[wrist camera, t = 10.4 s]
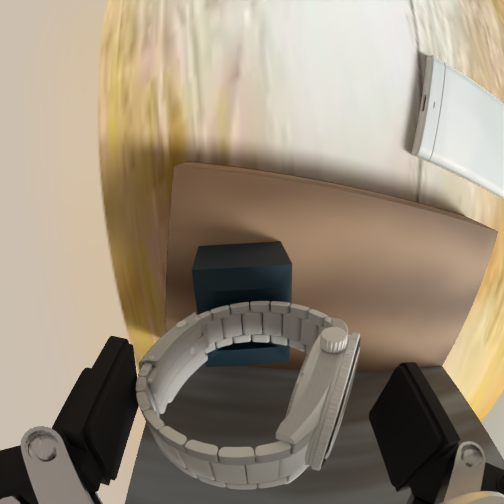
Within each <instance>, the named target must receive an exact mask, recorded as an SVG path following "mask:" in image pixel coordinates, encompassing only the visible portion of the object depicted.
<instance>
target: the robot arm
mask: <svg viewBox="0 0 504 504" xmlns="http://www.w3.org/2000/svg"><path fill="white" fill-rule="evenodd" d="M136 382H137V374H136V366H135V358H134V349H133V345H132V344H129V343H128V340H127V339H124V338H119V337H115V336H111V337H110V338H109V339H108V341H107V343H106V344H105V346H104V348H103V349H102V351H101V353H100V355H99V356H98V358H97V360H96V362H95V363H94V365H93V367H92V369H91V368H85V369H84V370H83V371H82V373H81V375H80V376H79V378H78V380H77V382H76V384H75V386H74V387H73V389H72V391H71V393H70V394H69V396H68V398H67V400H66V402H65V404H64V406H63V407H62V410H61V411H60V413H59V415H58V417H57V419H56V421H55V423H54V425H53V427H52V429H51V428H48V427H43V426H40V427H34V428H32V429H30V430H28V431H27V432H26V433H25V434H24V436H23V438H22V440H21V445H20V446H16V447H12V448H9V449H5V450H1V451H0V504H103V503H102V501H101V500H100V498H99V496H98V494H97V492H96V491H98V490H99V487H100V483H102V484H106V485H109V483H110V480H111V479H112V480H115V479H116V477H117V473H118V470H119V467H120V464H121V460H122V457H123V453H124V450H125V447H126V443H127V440H128V437H129V434H130V430H131V427H132V424H133V421H134V418H135V415H136V412H137V409H138V406H139V404H138V401H137V396H136V394H137V392H136ZM369 420H370V423H371V426H372V429H373V432H374V434H375V437H376V440H377V443H378V446H379V449H380V452H381V455H382V457H383V460H384V463H385V466H386V469H387V472H388V475H389V479H390V482H391V484H392V486H394V487H395V488H396V491H397V492H400V491H403V490H407V489H409V488H410V489H411V494H410V497H409V499H408V501H407V503H406V504H504V470H503V469H501V468H498V467H496V466H494V465H491V464H489V463H487V462H485V453H484V451H483V449H482V448H481V447H480V446H479V445H478V444H477V443H475V442H471V441H466V442H464V443H462V444H461V445H460V446H459V445H458V442H459V441H460V440H461V439H460V437H459V435H458V433H457V432H456V430H455V428H454V426H453V424H452V422H451V421H450V419H449V417H448V415H447V413H446V412H445V410H444V408H443V406H442V405H441V403H440V401H439V399H438V398H437V396H436V394H435V393H434V391H433V389H432V388H431V386H430V384H429V383H428V381H427V379H426V378H425V376H424V374H423V373H422V371H421V369H420V368H419V366H418V365H417V364H416V363H415V362H405V363H401V364H399V366H398V367H396V368H395V370H394V371H393V373H392V375H391V377H390V379H389V380H388V382H387V384H386V386H385V387H384V389H383V391H382V392H381V394H380V396H379V397H378V399H377V401H376V402H375V404H374V405H373V407H372V409H371V410H370V412H369Z"/></svg>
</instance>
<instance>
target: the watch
mask: <svg viewBox="0 0 504 504" xmlns="http://www.w3.org/2000/svg"><path fill="white" fill-rule="evenodd" d="M192 277H193V285H194V292H195V299H196V306H197V313H198V315H196V313H195V312H194V313H193V314H191V315H189V316H188V317H186V318H185V319H183V320H182V321H180V322H178V323H177V324H176V325H175V326H174V327H173V328H171V329H170V330H169V331H168V332H167V333H165V334H164V335H163V336H162V337H161V338H160V339H159V340H158V341H157V342H156V343H155V344H154V345H153V346H152V348H151V349H150V350H149V351H148V352H147V353H146V355H145V356H144V357H143V358H142V360H141V361H140V362H139V366H140V372H139V374H138V376H139V377H138V378H137V382H136V392H137V394H136V396H137V401H138V404H139V407H140V409H141V411H142V413H143V415H144V418H145V420H146V422H147V424H148V426H149V428H150V430H151V433H152V435H153V437H154V439H155V441H156V443H157V444H158V446H159V448H160V449H161V451H162V452H163V454H164V455H165V456H166V457H167V458H168V459H169V460H170V461H171V462H172V463H174V464H175V465H176V466H177V467H178V468H179V469H180V470H182V471H183V472H185V473H186V474H188V475H190V476H192V477H194V478H199V480H200V481H203V482H205V483H208V484H211V485H214V486H218V487H226V485H227V487H228V488H230V489H244V490H246V489H256V488H257V484H258V488H268V487H274V486H278V485H282V484H289V483H290V482H292V481H293V480H294V479H296V478H297V477H298V476H299V475H300V474H301V473H302V472H303V471H304V470H305V469H306V468H307V467H308V466H309V465H310V466H312V469H314V470H318V471H319V470H320V469H321V468H322V466H323V465H324V463H325V461H326V460H327V458H328V456H329V454H330V452H331V449H332V447H333V444H334V442H335V439H336V436H337V433H338V430H339V427H340V424H341V421H342V418H343V415H344V412H345V409H346V405H347V402H348V398H349V395H350V391H351V388H352V384H353V380H354V376H355V372H356V367H357V363H358V358H359V353H360V338H361V337H360V333H354V332H353V333H352V335H349V334H348V327H347V325H346V324H345V322H344V321H343V320H342V319H337V318H331V317H328V316H327V315H326V314H324V313H322V312H320V311H317V310H314V309H310V308H309V307H306V306H302V305H298V304H292V262H291V260H290V258H289V256H288V254H287V252H286V250H285V249H284V247H283V245H282V243H281V241H277V242H260V243H242V244H226V245H209V246H198V250H197V253H196V257H195V260H194V264H193V267H192ZM290 347H292V348H295V349H298V350H300V351H305V350H306V353H307V356H306V358H305V360H304V363H303V365H302V367H301V370H300V373H299V375H298V378H297V381H296V384H295V387H294V390H293V393H292V396H291V400H290V403H289V406H288V410H287V414H286V418H285V419H284V421H283V422H282V423H281V424H280V425H279V428H278V430H277V432H276V439H278V440H281V441H278V442H275V443H270V444H265V445H260V446H258V447H256V450H255V454H256V455H254V450H253V448H251V447H222V448H221V449H220V450H219V451H218V447H217V446H215V445H211V444H206V443H202V442H199V441H196V440H189V441H188V440H187V437H186V436H184V435H183V434H181V433H179V432H177V431H175V430H174V429H172V428H171V427H169V426H165V424H164V422H163V421H162V420H161V419H160V418H159V416H160V415H159V413H160V414H163V413H164V412H165V409H166V406H167V403H170V402H172V401H173V399H174V397H175V396H176V394H177V393H178V391H179V390H180V388H181V387H182V385H183V384H184V383H185V382H186V380H187V379H188V378H189V377H190V376H191V375H192V374H193V373H194V372H195V371H196V370H197V369H198V368H199V367H200V366H201V365H202V364H204V363H206V367H221V366H240V365H254V364H267V363H278V362H288V361H289V357H290ZM245 465H246V469H245ZM246 472H247V476H246Z"/></svg>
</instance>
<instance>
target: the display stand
mask: <svg viewBox="0 0 504 504" xmlns="http://www.w3.org/2000/svg"><path fill="white" fill-rule="evenodd" d="M497 234H498V231H496V230H494V229H491V228H489V227H487V226H485V225H483V224H481V223H479V222H477V221H474V220H472V219H470V218H468V217H465V216H462V215H459V214H455V213H452V212H449V211H445V210H442V209H438V208H435V207H431V206H428V205H424V204H420V203H417V202H413V201H409V200H405V199H401V198H397V197H393V196H389V195H385V194H381V193H377V192H372V191H368V190H364V189H359V188H354V187H350V186H345V185H340V184H335V183H330V182H325V181H320V180H315V179H309V178H304V177H298V176H293V175H287V174H281V173H274V172H268V171H261V170H255V169H248V168H240V167H233V166H225V165H217V164H208V163H199V162H189V161H188V162H185V163H182V164H179V165H176V166H174V172H173V182H172V193H171V204H170V217H169V232H168V250H167V275H166V333H167V332H168V331H169V330H170V329H171V328H173V327H174V326H175V325H176V324H177V323H178V322H180V321H182V320H183V319H185V318H186V317H188V316H189V315H191V314H193V313H194V312H195V313H196V315H198V313H197V306H196V299H195V292H194V285H193V277H192V267H193V264H194V260H195V257H196V253H197V250H198V246H209V245H226V244H242V243H260V242H277V241H281V243H282V245H283V247H284V249H285V250H286V252H287V254H288V256H289V258H290V260H291V262H292V304H298V305H302V306H306V307H309V308H310V309H314V310H317V311H320V312H322V313H324V314H326V315H327V316H328V317H331V318H337V319H342V320H343V321H344V322H345V324H346V325H347V327H348V334H349V335H352V333H353V332H354V333H360V337H361V338H360V353H359V358H358V363H357V367H356V372H355V376H354V380H353V384H352V388H351V391H350V395H349V398H348V402H347V405H346V409H345V412H344V415H343V418H342V421H341V424H340V427H339V430H338V433H337V436H336V439H335V442H334V444H333V447H332V449H331V452H330V454H329V456H328V458H327V460H326V461H325V463H324V465H323V466H322V468H321V469H320V470H319V471H318V470H314V469H312V466H310V465H309V466H308V467H307V468H306V469H305V470H304V471H303V472H302V473H301V474H300V475H299V476H298V477H297V478H296V479H294V480H293V481H292V482H290V483H289V484H282V485H278V486H274V487H268V488H258V484H257V488H256V489H246V490H244V489H230V488H228V487H227V485H226V487H218V486H214V485H211V484H208V483H205V482H203V481H200V480H199V478H194V477H192V476H190V475H188V474H186V473H185V472H183V471H182V470H180V469H179V468H178V467H177V466H176V465H175V464H174V463H172V462H171V461H170V460H169V459H168V458H167V457H166V456H165V455H164V454H163V452H162V451H161V449H160V448H159V446H158V444H157V443H156V441H155V439H154V437H153V435H152V433H151V430H150V428H149V426H148V424H147V422H146V424H145V428H144V431H143V435H142V439H141V442H140V446H139V450H138V454H137V457H136V461H135V465H134V469H133V473H132V477H131V481H130V485H129V489H128V493H127V497H126V502H125V504H406V503H407V501H408V499H409V497H410V494H411V489H410V488H409V489H407V490H403V491H400V492H397V491H396V488H395V487H394V486H392V484H391V482H390V479H389V475H388V472H387V469H386V466H385V463H384V460H383V457H382V455H381V452H380V449H379V446H378V443H377V440H376V437H375V434H374V432H373V429H372V426H371V423H370V420H369V412H370V410H371V409H372V407H373V405H374V404H375V402H376V401H377V399H378V397H379V396H380V394H381V392H382V391H383V389H384V387H385V386H386V384H387V382H388V380H389V379H390V377H391V375H392V373H393V371H394V370H395V368H396V367H398V366H399V364H401V363H405V362H415V363H416V364H417V365H418V366H419V368H420V369H421V371H422V373H423V374H424V376H425V378H426V379H427V381H428V383H429V384H430V386H431V388H432V389H433V391H434V393H435V394H436V396H437V398H438V399H439V401H440V403H441V405H442V406H443V408H444V410H445V412H446V413H447V415H448V417H449V419H450V421H451V422H452V424H453V426H454V428H455V430H456V432H457V433H458V435H459V437H460V439H461V440H460V441H459V442H458V445H459V446H460V445H461V444H462V443H464V442H466V441H471V442H475V443H477V444H478V445H479V446H480V447H481V448H482V449H483V451H484V453H485V462H487V463H489V464H491V465H494V466H496V467H498V468H501V469H503V470H504V460H503V458H502V456H501V455H500V453H499V451H498V450H497V448H496V446H495V444H494V443H493V441H492V439H491V438H490V436H489V435H488V433H487V432H486V430H485V428H484V427H483V425H482V424H481V422H480V420H479V419H478V417H477V416H476V414H475V413H474V411H473V410H472V408H471V407H470V405H469V404H468V402H467V401H466V399H465V398H464V396H463V395H462V394H461V392H460V391H459V389H458V388H457V386H456V385H455V383H454V382H453V381H452V379H451V378H450V376H449V375H448V374H447V372H446V371H445V370H444V368H443V367H442V365H443V363H444V361H445V360H446V358H447V356H448V354H449V352H450V351H451V349H452V347H453V345H454V343H455V341H456V339H457V337H458V335H459V333H460V331H461V329H462V327H463V325H464V322H465V320H466V318H467V316H468V314H469V311H470V309H471V307H472V305H473V302H474V300H475V297H476V295H477V292H478V290H479V287H480V285H481V282H482V280H483V277H484V274H485V271H486V269H487V266H488V263H489V260H490V257H491V254H492V250H493V247H494V244H495V241H496V237H497ZM306 356H307V353H306V350H305V351H300V350H298V349H295V348H292V347H290V357H289V361H288V362H278V363H267V364H254V365H240V366H221V367H206V363H204V364H202V365H201V366H200V367H199V368H198V369H197V370H196V371H195V372H194V373H193V374H192V375H191V376H190V377H189V378H188V379H187V380H186V382H185V383H184V384H183V385H182V387H181V388H180V390H179V391H178V393H177V394H176V396H175V397H174V399H173V401H172V402H170V403H167V406H166V409H165V412H164V413H163V414H160V413H159V415H160V416H159V418H160V419H161V420H162V421H163V422H164V424H165V426H169V427H171V428H172V429H174V430H175V431H177V432H179V433H181V434H183V435H184V436H186V437H187V440H188V441H189V440H196V441H199V442H202V443H206V444H211V445H215V446H217V447H218V451H219V450H220V449H221V448H222V447H251V448H253V450H254V455H256V454H255V450H256V447H258V446H260V445H265V444H270V443H275V442H278V441H281V440H278V439H276V432H277V430H278V428H279V425H280V424H281V423H282V422H283V421H284V419H285V418H286V414H287V410H288V406H289V403H290V400H291V396H292V393H293V390H294V387H295V384H296V381H297V378H298V375H299V373H300V370H301V367H302V365H303V363H304V360H305V358H306ZM245 469H246V465H245ZM246 476H247V472H246Z"/></svg>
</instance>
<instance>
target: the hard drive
mask: <svg viewBox="0 0 504 504" xmlns="http://www.w3.org/2000/svg"><path fill="white" fill-rule="evenodd" d="M411 155H413V156H416V157H418V158H421V159H423V160H425V161H427V162H430V163H432V164H434V165H436V166H439V167H441V168H443V169H445V170H447V171H449V172H451V173H454V174H456V175H458V176H460V177H462V178H464V179H466V180H468V181H470V182H472V183H474V184H476V185H477V186H479V187H481V188H483V189H485V190H487V191H489V192H490V193H492V194H494V195H496V196H498V197H499V198H501V199H503V200H504V104H503V103H502V102H501V101H500V100H498V99H497V98H496V97H495V96H493V95H492V94H491V93H489V92H488V91H487V90H485V89H484V88H483V87H481V86H480V85H479V84H477V83H476V82H475V81H473V80H472V79H470V78H469V77H467V76H466V75H464V74H463V73H461V72H460V71H458V70H456V69H455V68H453V67H452V66H450V65H448V64H447V63H445V62H443V61H442V60H440V59H438V58H436V57H434V56H433V55H432V56H428V57H426V67H425V76H424V84H423V92H422V98H421V105H420V111H419V117H418V122H417V128H416V133H415V138H414V143H413V148H412V152H411Z"/></svg>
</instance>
